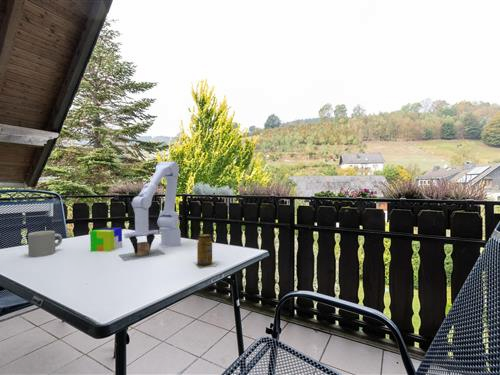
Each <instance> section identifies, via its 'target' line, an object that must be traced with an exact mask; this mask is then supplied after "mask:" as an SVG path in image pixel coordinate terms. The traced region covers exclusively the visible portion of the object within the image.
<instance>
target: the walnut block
mask: <svg viewBox="0 0 500 375" xmlns="http://www.w3.org/2000/svg"><path fill="white" fill-rule="evenodd" d="M150 250H151V249H150ZM150 250H149V243H148V242H147V241H140V242H137V253H135V254H136V255H137V256H143V255H149V254H150Z"/></svg>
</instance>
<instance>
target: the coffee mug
mask: <svg viewBox="0 0 500 375" xmlns="http://www.w3.org/2000/svg"><path fill="white" fill-rule="evenodd" d="M56 237H57V242H56ZM27 238H28V239H27V242H28V245H27V246H28V247H27V248H28V257H30V258H40V257H46V256H47V257H48V256H52V255H53V254H56V247H58V246H60V245H61V244H62V242H63V237H62V235H61V234H60V233H56V231H55V230H40V231H33V232H29V233H28V234H27Z"/></svg>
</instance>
